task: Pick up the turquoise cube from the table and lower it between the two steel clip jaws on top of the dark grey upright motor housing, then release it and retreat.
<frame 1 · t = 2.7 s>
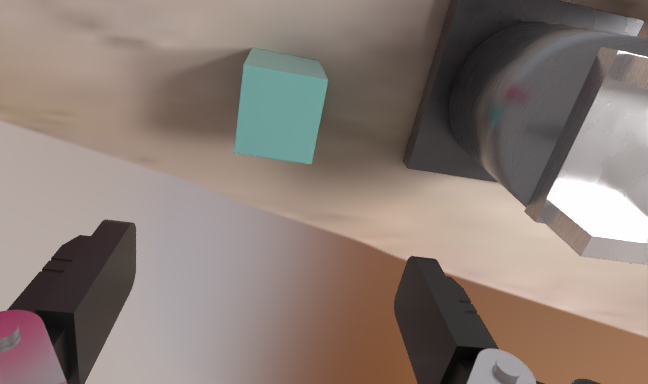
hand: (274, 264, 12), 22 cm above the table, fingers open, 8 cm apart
turquoise cube: (280, 91, 32), on the table
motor: (509, 94, 33), on the table
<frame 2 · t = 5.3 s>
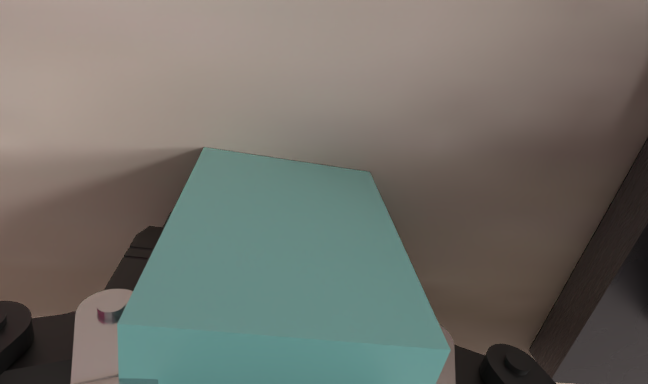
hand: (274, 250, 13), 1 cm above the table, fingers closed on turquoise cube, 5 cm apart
turquoise cube: (276, 237, 14), on the table, touching gripper
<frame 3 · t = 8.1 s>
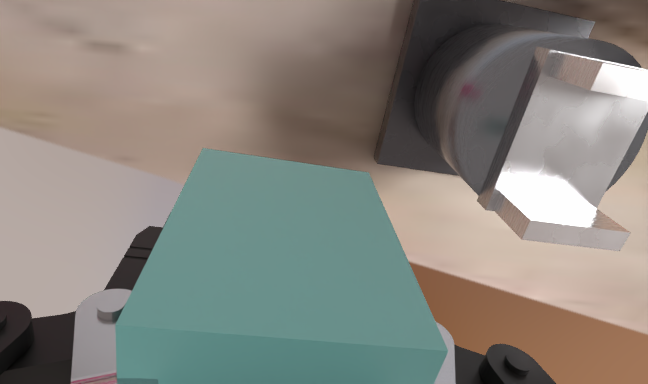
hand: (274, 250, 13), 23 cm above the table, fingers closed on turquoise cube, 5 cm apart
turquoise cube: (275, 237, 14), point 22 cm above the table, touching gripper
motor: (472, 92, 35), on the table
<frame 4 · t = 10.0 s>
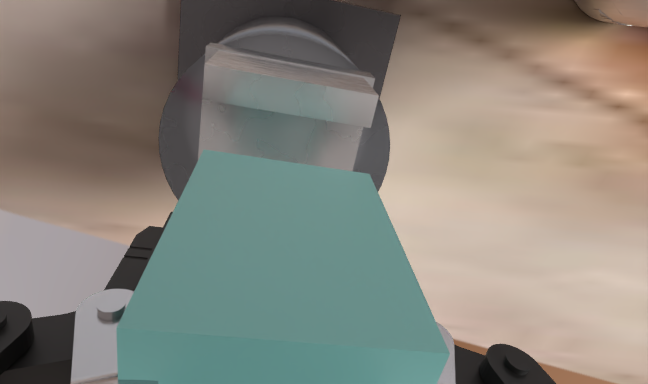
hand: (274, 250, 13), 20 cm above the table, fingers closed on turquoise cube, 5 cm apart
turquoise cube: (276, 238, 14), point 19 cm above the table, touching gripper
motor: (280, 95, 31), on the table
when the fingers open (15 cm above the table, at t = 11.4 s): turquoise cube drops 1 cm, resting on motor.
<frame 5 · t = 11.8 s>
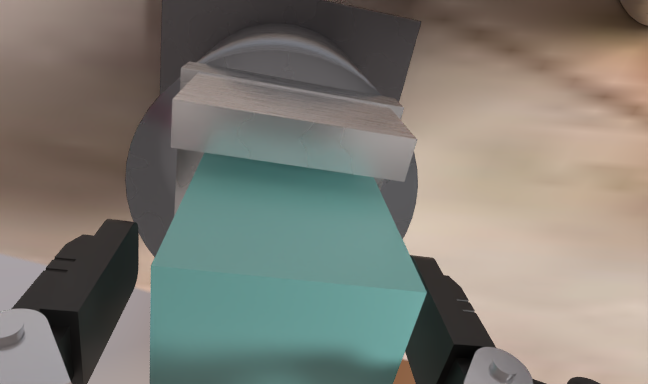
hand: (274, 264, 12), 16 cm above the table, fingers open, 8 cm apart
turquoise cube: (279, 216, 15), point 13 cm above the table, touching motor
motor: (279, 113, 27), on the table
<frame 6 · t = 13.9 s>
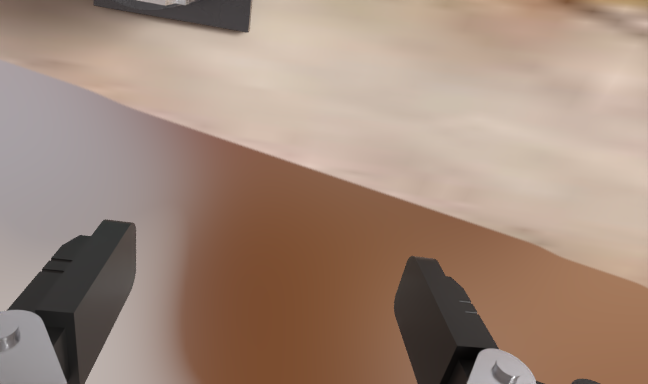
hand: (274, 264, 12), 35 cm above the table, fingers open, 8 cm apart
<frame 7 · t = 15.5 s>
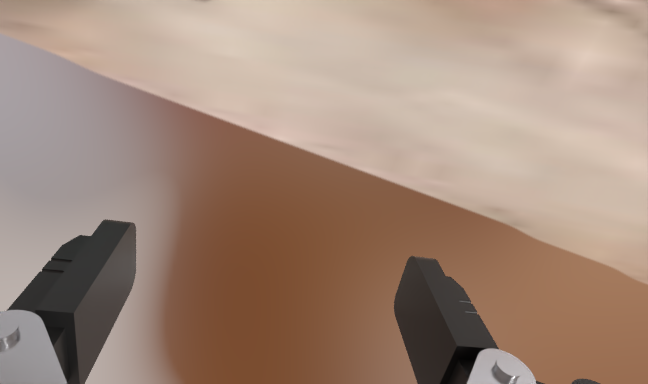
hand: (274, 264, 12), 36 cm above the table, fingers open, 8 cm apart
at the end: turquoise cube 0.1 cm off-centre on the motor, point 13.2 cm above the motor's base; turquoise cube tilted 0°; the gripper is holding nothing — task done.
